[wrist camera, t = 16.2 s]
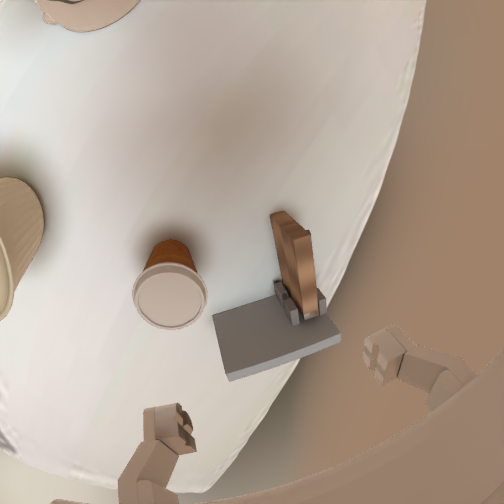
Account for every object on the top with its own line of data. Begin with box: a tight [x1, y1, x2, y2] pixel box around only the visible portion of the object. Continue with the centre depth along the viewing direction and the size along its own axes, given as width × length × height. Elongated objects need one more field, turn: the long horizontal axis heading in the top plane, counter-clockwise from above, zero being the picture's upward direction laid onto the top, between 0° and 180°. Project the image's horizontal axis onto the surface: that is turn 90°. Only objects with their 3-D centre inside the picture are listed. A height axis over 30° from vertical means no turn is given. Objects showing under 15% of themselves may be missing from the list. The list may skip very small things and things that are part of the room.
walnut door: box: [270, 211, 319, 320], centre depth 43 cm, size 14×4×10 cm, turn 12°
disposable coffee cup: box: [132, 240, 208, 330], centre depth 37 cm, size 10×10×12 cm
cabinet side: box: [212, 282, 341, 382], centre depth 44 cm, size 5×18×14 cm, turn 102°
